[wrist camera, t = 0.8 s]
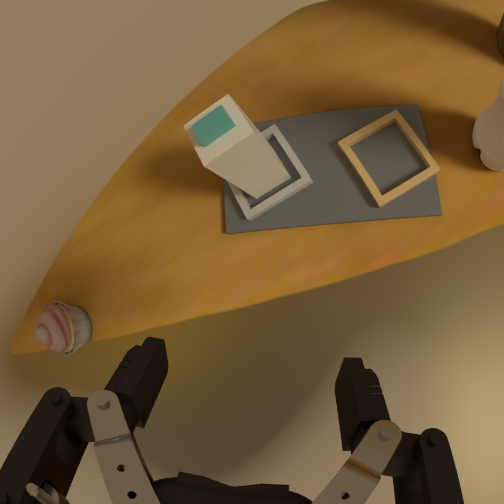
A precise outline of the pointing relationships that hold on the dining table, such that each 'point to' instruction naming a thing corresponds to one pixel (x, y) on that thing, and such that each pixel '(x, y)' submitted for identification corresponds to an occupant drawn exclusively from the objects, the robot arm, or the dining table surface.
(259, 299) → the dining table surface
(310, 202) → the panel
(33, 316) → the dining table surface
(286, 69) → the dining table surface
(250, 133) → the white tall box
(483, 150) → the water bottle
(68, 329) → the cupcake
